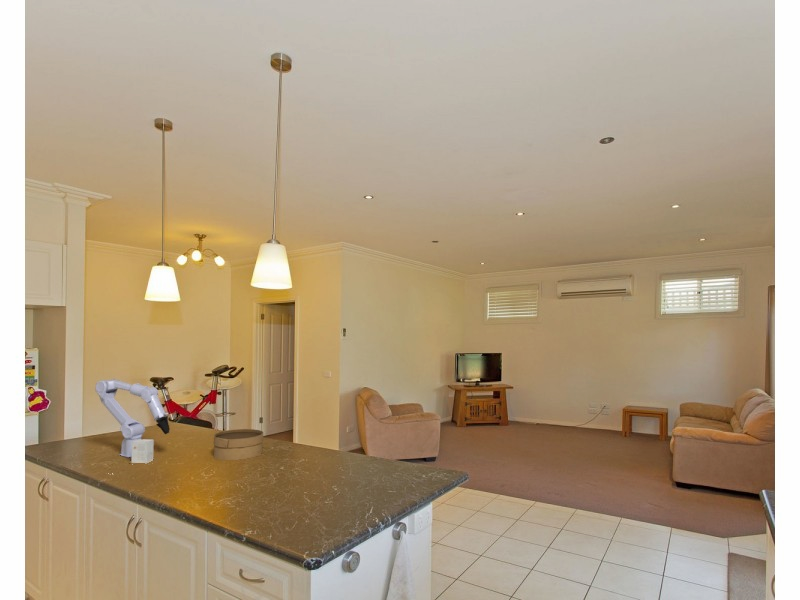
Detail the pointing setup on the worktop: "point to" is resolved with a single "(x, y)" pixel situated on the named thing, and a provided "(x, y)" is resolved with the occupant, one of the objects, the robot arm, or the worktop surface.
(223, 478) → the worktop surface
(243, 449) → the steamer basket
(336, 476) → the worktop surface
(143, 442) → the small box
